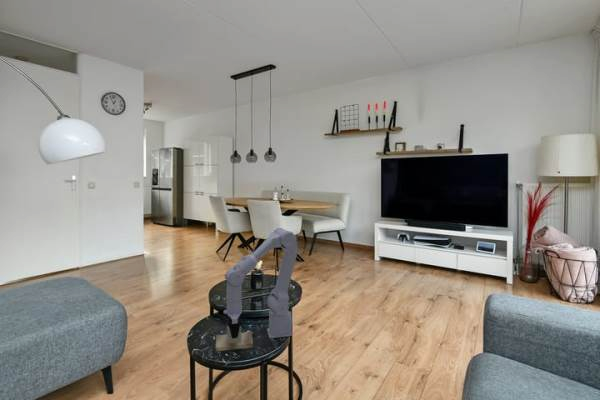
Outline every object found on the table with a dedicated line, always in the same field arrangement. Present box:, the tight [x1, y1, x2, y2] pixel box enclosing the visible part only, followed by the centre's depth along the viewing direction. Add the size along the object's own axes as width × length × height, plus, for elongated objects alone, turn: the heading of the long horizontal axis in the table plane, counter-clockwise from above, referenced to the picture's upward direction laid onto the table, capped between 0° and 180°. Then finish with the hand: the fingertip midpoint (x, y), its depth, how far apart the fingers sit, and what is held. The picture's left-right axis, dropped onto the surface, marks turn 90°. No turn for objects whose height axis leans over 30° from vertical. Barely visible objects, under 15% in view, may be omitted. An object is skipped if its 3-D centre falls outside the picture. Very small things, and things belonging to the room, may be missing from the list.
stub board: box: [215, 331, 254, 352], centre depth 122 cm, size 14×9×4 cm, turn 104°
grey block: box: [226, 325, 242, 344], centre depth 122 cm, size 5×5×6 cm
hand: (234, 332), depth 122 cm, fingers open, 7 cm apart
